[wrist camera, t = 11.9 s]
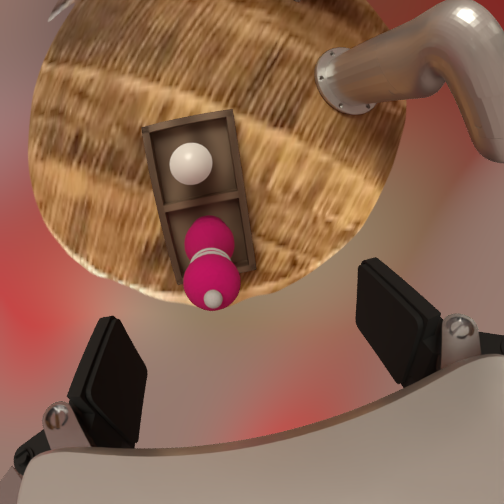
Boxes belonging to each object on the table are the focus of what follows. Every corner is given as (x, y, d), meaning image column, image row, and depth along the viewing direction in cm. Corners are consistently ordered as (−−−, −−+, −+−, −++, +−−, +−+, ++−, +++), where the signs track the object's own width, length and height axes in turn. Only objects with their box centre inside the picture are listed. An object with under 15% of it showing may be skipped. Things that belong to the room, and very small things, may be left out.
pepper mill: (211, 263, 44) (218, 345, 26) (176, 236, 42) (158, 307, 24) (240, 231, 43) (268, 298, 25) (206, 202, 41) (208, 252, 22)
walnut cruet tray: (230, 111, 37) (232, 109, 34) (253, 261, 47) (256, 269, 44) (145, 128, 35) (141, 127, 32) (178, 276, 45) (177, 285, 43)
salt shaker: (207, 140, 37) (208, 138, 29) (213, 172, 39) (215, 180, 31) (174, 147, 36) (166, 147, 28) (180, 179, 38) (174, 188, 30)
